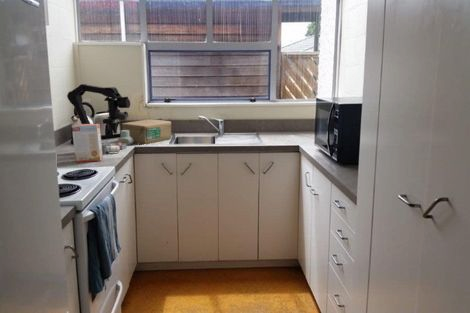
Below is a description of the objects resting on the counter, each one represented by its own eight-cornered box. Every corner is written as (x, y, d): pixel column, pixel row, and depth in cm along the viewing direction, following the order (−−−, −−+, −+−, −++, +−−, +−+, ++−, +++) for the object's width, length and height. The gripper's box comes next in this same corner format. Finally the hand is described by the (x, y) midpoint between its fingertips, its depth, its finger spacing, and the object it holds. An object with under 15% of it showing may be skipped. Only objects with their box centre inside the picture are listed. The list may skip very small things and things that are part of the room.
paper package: (145, 145, 285) (144, 124, 282) (121, 142, 300) (119, 122, 297) (173, 139, 306) (172, 120, 303) (149, 136, 321) (148, 118, 318)
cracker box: (103, 159, 242) (99, 123, 237) (100, 161, 236) (96, 124, 231) (78, 160, 241) (75, 124, 237) (75, 162, 235) (71, 125, 231)
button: (116, 149, 270) (115, 143, 270) (118, 148, 273) (117, 142, 273) (120, 149, 270) (119, 143, 269) (122, 148, 273) (121, 142, 272)
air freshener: (135, 143, 290) (134, 129, 288) (132, 145, 282) (131, 131, 280) (119, 144, 291) (118, 130, 288) (116, 146, 282) (115, 131, 280)
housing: (95, 154, 256) (95, 145, 255) (102, 151, 264) (101, 143, 263) (105, 154, 255) (104, 145, 254) (110, 151, 263) (110, 143, 262)
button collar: (111, 150, 269) (111, 145, 268) (116, 148, 276) (116, 143, 275) (122, 150, 268) (121, 145, 267) (126, 148, 274) (126, 143, 274)
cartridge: (98, 153, 258) (98, 146, 257) (102, 151, 262) (101, 144, 261) (117, 153, 256) (116, 146, 255) (120, 151, 260) (119, 144, 259)
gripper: (118, 109, 244) (121, 135, 247) (131, 106, 262) (133, 131, 265) (101, 109, 246) (103, 135, 249) (115, 106, 264) (117, 131, 267)
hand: (115, 133), depth 257 cm, fingers closed
